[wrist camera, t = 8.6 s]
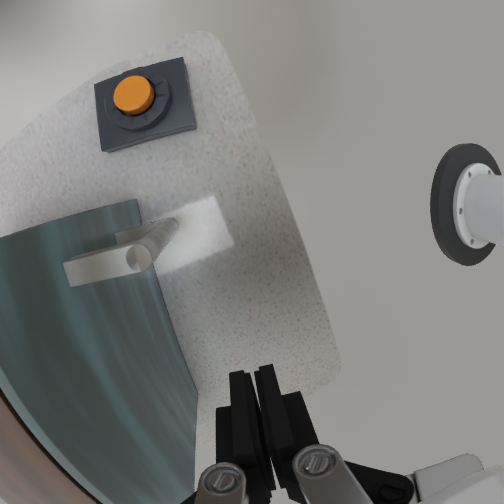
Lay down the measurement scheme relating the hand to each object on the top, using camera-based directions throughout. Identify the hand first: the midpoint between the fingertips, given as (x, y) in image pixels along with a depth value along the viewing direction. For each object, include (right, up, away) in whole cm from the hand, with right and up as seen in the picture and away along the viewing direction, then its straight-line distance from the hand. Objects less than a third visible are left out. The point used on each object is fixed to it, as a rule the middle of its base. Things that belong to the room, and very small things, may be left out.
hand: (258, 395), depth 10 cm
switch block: (-12, +21, +16) cm, 29 cm away
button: (-11, +20, +13) cm, 26 cm away
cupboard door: (-8, -1, +22) cm, 23 cm away
